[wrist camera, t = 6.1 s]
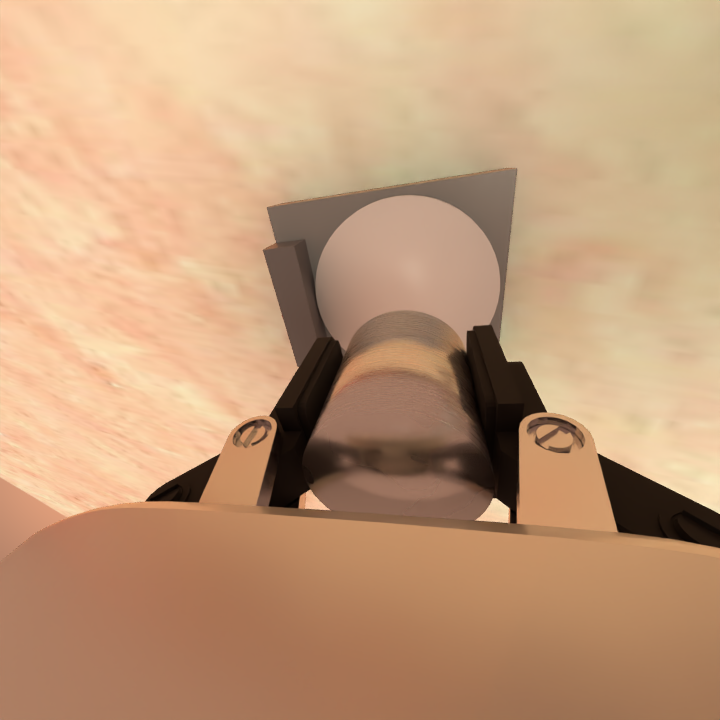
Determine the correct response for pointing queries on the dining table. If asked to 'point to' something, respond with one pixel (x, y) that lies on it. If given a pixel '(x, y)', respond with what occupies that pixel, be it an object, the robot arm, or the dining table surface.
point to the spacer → (402, 425)
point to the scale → (393, 256)
